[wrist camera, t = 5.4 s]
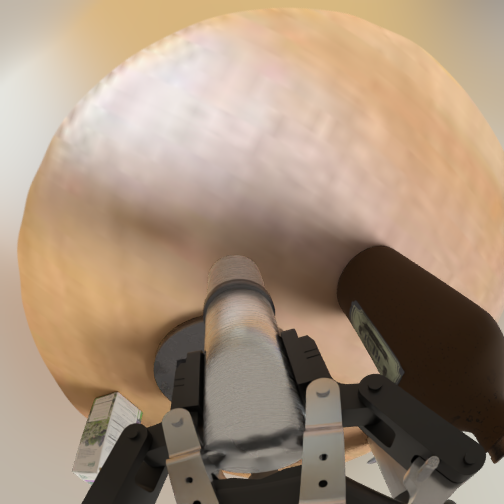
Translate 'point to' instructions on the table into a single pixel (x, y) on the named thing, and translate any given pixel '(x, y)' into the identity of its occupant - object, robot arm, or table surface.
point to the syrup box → (103, 433)
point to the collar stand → (178, 352)
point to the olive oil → (429, 341)
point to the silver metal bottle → (247, 375)
